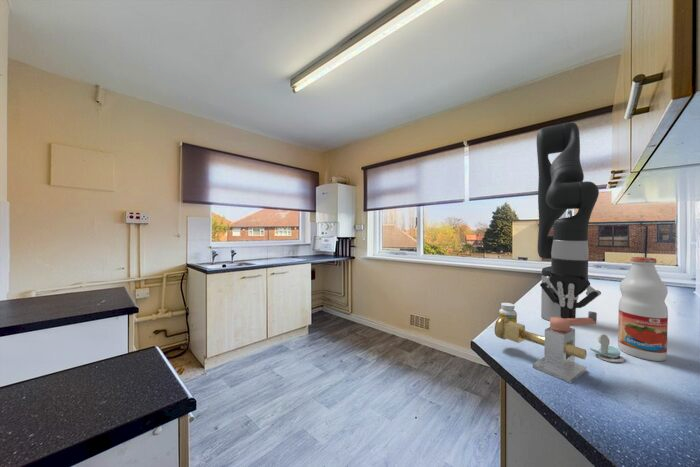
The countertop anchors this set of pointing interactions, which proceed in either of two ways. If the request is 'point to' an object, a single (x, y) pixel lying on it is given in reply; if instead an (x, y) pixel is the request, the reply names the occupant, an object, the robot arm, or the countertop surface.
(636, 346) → the fruit juice
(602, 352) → the pacifier
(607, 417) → the countertop surface
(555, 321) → the lock lever
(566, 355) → the eye bracket
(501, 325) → the gold bolt
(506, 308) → the supplement bottle
